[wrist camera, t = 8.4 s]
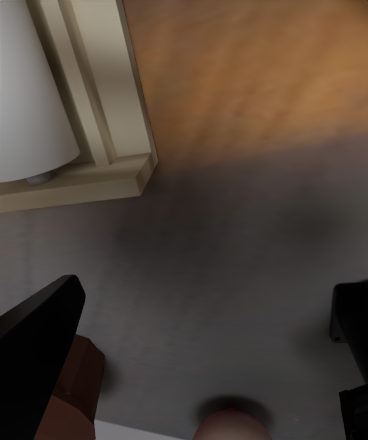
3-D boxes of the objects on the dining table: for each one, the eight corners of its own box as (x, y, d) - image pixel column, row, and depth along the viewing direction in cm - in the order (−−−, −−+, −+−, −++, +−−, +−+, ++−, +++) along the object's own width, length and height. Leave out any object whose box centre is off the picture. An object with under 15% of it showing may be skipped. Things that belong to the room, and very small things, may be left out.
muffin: (138, 363, 31) (108, 483, 23) (81, 395, 36) (38, 504, 27) (44, 301, 28) (-34, 415, 19) (-6, 346, 32) (-87, 454, 24)
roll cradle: (158, 161, 19) (140, 195, 15) (0, 183, 21) (-58, 219, 17) (101, -89, 13) (43, -156, 9) (-110, -25, 15) (-242, -53, 11)
